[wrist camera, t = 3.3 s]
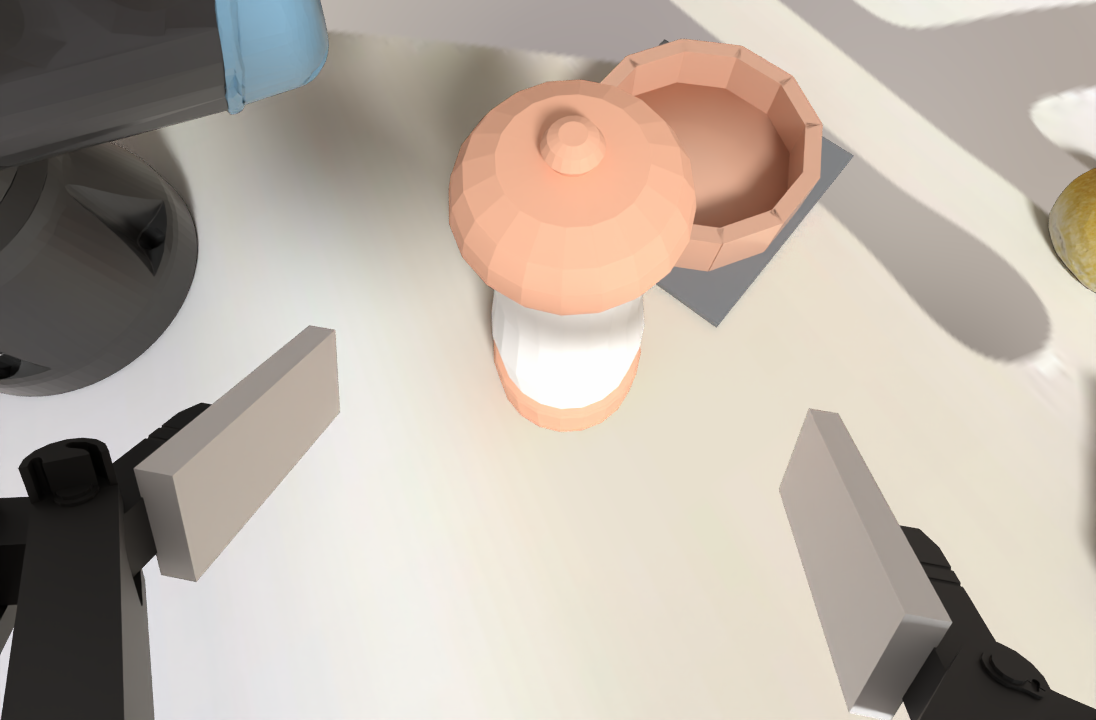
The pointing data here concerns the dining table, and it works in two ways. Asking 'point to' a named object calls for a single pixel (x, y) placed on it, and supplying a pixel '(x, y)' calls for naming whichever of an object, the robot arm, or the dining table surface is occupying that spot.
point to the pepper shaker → (570, 239)
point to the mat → (728, 283)
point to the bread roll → (1077, 228)
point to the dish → (730, 141)
